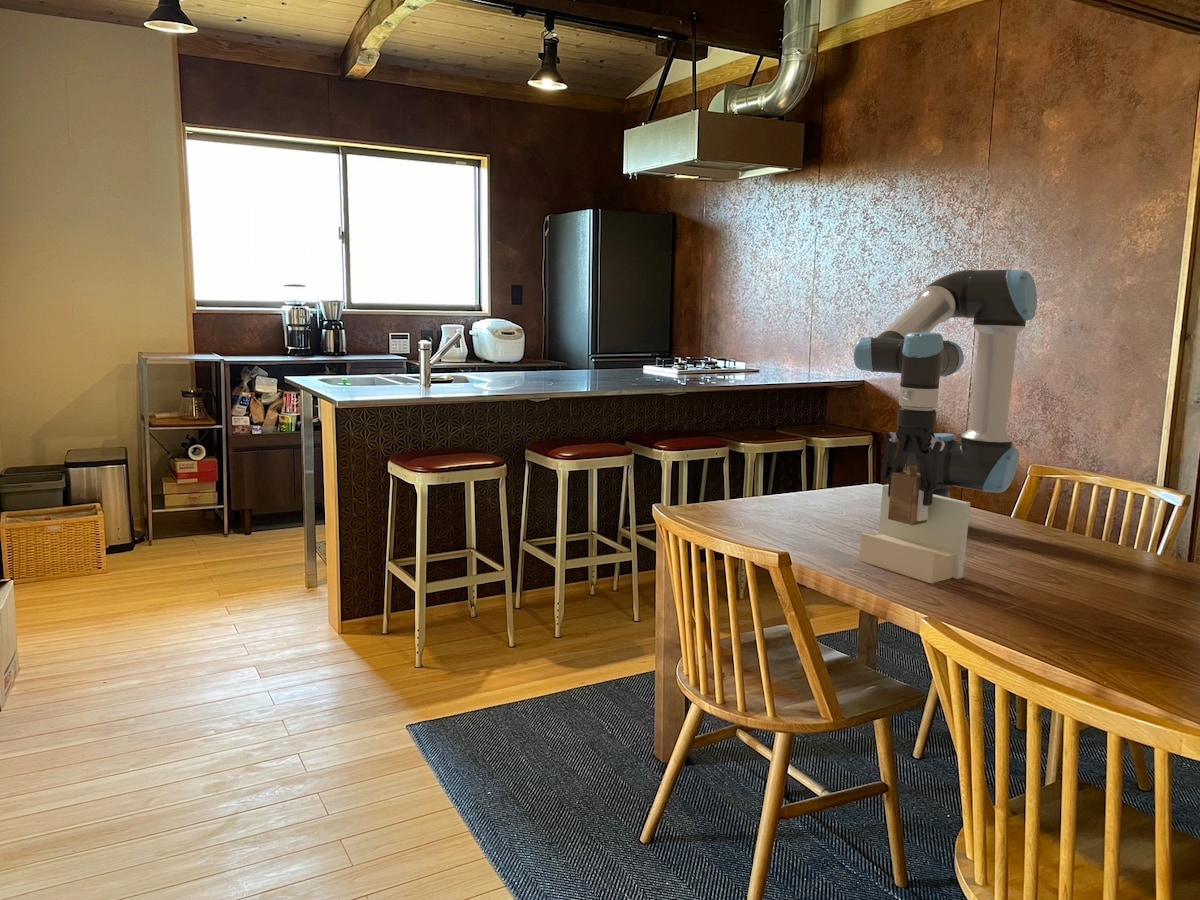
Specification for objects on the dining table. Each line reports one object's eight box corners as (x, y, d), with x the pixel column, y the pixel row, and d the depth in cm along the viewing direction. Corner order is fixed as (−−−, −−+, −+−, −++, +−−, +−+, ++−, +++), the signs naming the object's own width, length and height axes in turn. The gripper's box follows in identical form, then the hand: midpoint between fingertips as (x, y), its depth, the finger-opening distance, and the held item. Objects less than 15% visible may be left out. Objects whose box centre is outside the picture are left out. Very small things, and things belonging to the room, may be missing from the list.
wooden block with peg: (902, 516, 186) (907, 462, 184) (926, 522, 181) (932, 467, 179) (887, 519, 183) (892, 464, 181) (911, 525, 178) (916, 469, 176)
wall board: (882, 553, 195) (888, 484, 193) (962, 577, 179) (970, 502, 177) (855, 559, 190) (860, 488, 187) (935, 585, 174) (942, 508, 171)
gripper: (867, 403, 183) (859, 509, 188) (947, 414, 168) (937, 529, 172) (890, 401, 188) (881, 504, 192) (970, 412, 172) (959, 524, 176)
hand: (907, 516), depth 182 cm, fingers closed on wooden block with peg, 6 cm apart
